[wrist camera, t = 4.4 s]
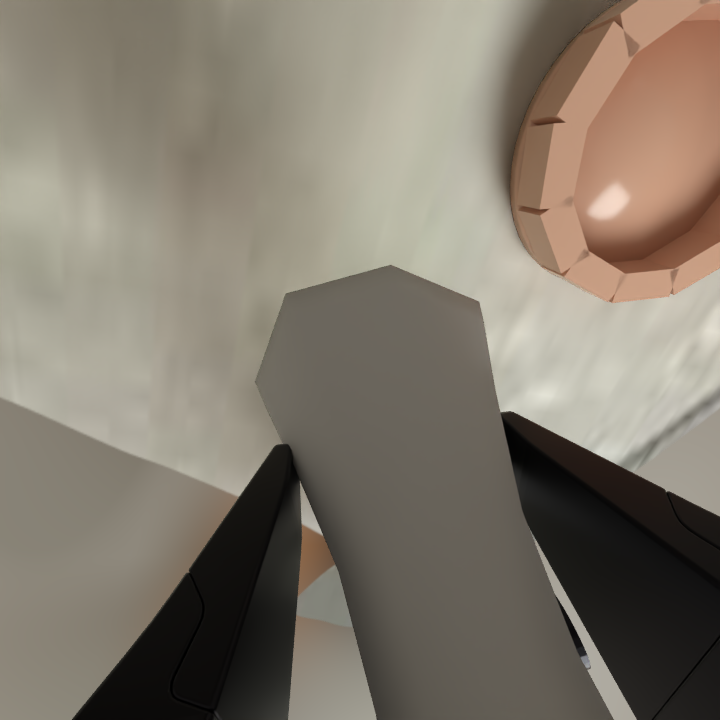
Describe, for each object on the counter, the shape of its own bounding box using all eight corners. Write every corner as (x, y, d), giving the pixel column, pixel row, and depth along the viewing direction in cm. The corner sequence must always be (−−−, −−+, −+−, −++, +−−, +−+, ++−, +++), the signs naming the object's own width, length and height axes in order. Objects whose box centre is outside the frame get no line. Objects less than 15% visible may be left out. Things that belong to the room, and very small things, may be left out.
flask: (249, 254, 9) (-610, 1700, 1) (512, 269, 10) (1580, 825, 2) (261, 466, 13) (164, 1140, 4) (458, 460, 14) (722, 973, 5)
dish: (700, 272, 22) (752, 287, 20) (495, 294, 21) (522, 313, 18) (817, -24, 16) (918, -60, 13) (533, -14, 15) (582, -52, 12)
